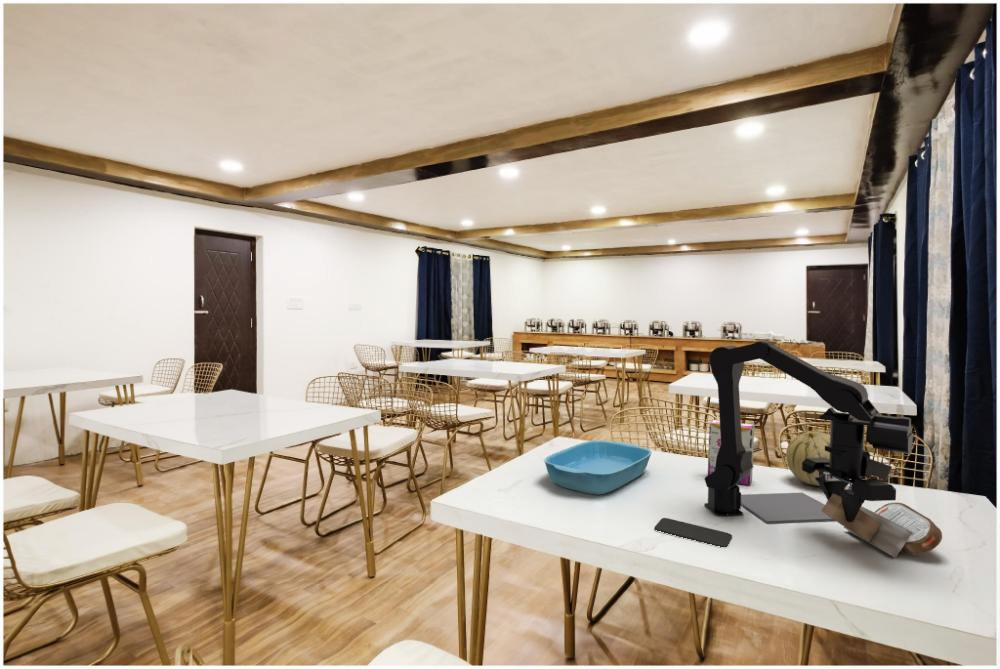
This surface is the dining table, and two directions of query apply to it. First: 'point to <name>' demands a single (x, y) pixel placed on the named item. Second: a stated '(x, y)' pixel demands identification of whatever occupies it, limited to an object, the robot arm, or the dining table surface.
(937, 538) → the tin
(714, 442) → the candy bar box
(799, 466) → the cantaloupe
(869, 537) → the t-shaped pusher tool
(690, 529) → the phone
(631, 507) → the dining table surface
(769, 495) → the tool mat
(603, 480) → the casserole dish
